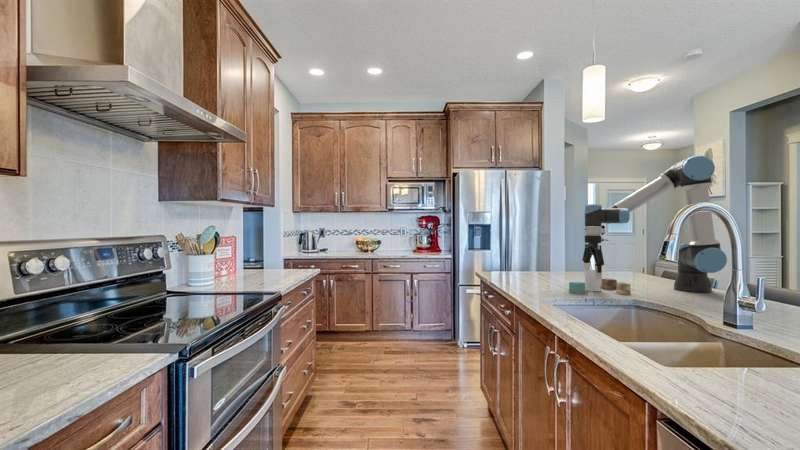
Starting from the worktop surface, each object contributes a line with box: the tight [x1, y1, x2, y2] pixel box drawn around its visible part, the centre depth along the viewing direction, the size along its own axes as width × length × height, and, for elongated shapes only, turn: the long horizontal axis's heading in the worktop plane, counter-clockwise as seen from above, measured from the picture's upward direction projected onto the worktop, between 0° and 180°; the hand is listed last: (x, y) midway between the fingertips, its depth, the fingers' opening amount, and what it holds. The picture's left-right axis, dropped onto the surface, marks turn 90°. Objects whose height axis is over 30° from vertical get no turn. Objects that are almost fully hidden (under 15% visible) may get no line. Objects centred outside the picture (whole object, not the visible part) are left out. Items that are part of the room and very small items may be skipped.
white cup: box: [584, 269, 603, 292], centre depth 190 cm, size 8×8×10 cm
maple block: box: [616, 281, 632, 295], centre depth 182 cm, size 5×5×5 cm
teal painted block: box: [568, 281, 586, 294], centre depth 185 cm, size 5×5×5 cm
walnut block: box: [601, 278, 618, 291], centre depth 195 cm, size 5×5×5 cm
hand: (592, 277), depth 190 cm, fingers open, 13 cm apart
